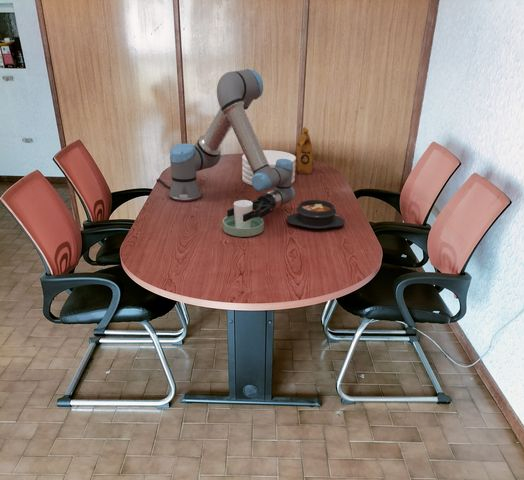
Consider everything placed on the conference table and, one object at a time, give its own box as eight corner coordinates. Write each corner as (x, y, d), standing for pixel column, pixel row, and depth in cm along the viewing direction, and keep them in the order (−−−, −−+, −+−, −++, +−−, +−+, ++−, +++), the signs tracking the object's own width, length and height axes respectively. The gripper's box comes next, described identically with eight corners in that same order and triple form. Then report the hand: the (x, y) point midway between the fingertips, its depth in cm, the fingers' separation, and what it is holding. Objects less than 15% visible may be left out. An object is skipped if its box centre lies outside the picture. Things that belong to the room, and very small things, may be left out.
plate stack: (304, 177, 281) (305, 155, 275) (277, 190, 262) (278, 167, 255) (260, 168, 293) (260, 147, 287) (231, 180, 274) (231, 158, 267)
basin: (214, 231, 217) (214, 221, 215) (240, 219, 229) (240, 210, 226) (246, 241, 209) (246, 232, 207) (271, 229, 220) (272, 219, 218)
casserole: (286, 231, 218) (287, 212, 214) (286, 215, 234) (287, 197, 229) (345, 233, 218) (348, 214, 213) (342, 217, 233) (344, 199, 228)
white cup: (250, 231, 214) (250, 207, 208) (231, 229, 215) (231, 205, 210) (254, 224, 221) (254, 200, 215) (236, 222, 222) (236, 199, 216)
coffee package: (295, 174, 286) (297, 131, 274) (294, 167, 296) (296, 126, 284) (313, 174, 286) (316, 132, 274) (311, 168, 296) (314, 127, 284)
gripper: (287, 215, 224) (255, 230, 209) (250, 204, 234) (217, 219, 218) (288, 198, 219) (255, 212, 204) (250, 188, 229) (216, 201, 214)
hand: (235, 216), depth 211 cm, fingers closed on white cup, 8 cm apart
